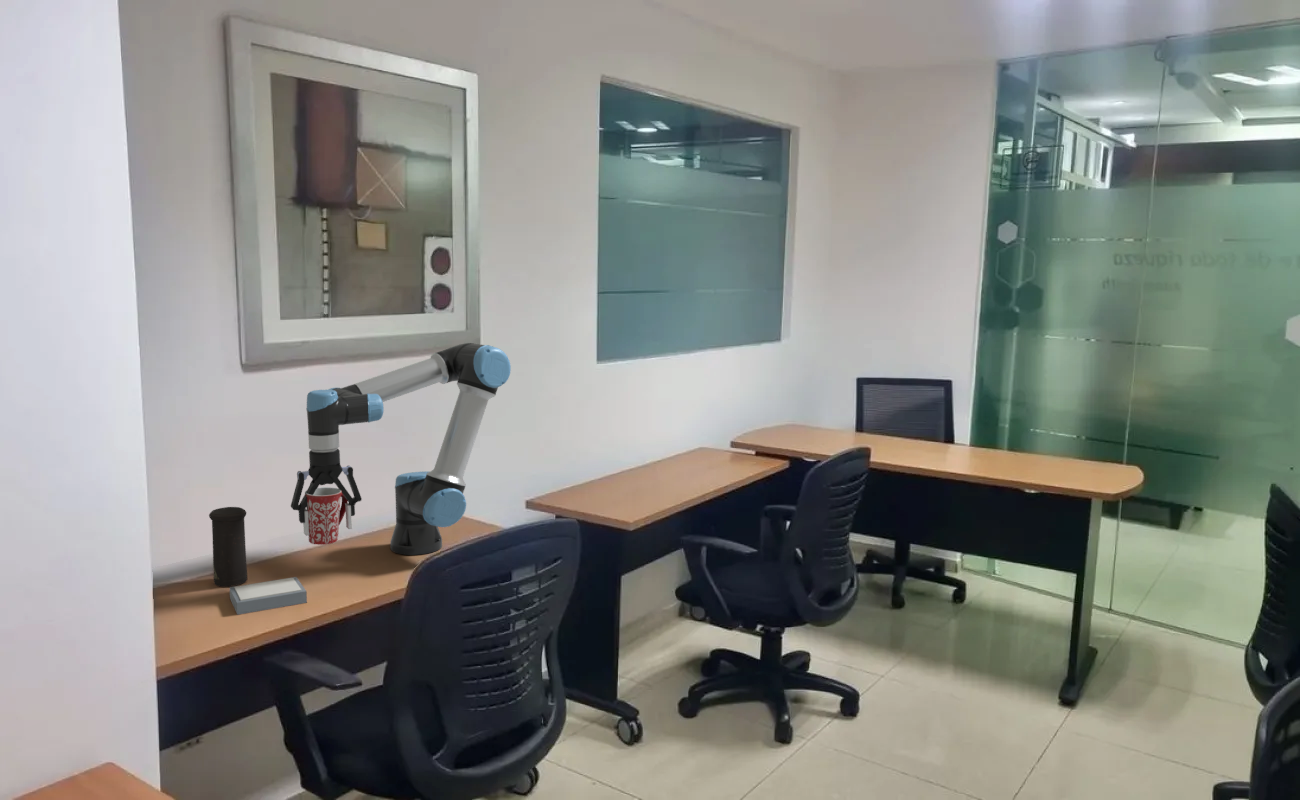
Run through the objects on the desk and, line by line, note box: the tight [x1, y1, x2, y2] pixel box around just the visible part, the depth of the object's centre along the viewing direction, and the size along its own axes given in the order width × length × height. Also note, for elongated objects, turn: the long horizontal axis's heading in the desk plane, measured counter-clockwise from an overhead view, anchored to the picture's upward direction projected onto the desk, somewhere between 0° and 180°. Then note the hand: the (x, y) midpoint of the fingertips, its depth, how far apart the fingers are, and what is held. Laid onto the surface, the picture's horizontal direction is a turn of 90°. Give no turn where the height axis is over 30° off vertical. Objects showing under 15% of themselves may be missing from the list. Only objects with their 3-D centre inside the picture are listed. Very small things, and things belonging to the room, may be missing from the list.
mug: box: [304, 486, 349, 546], centre depth 235 cm, size 13×9×14 cm
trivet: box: [229, 576, 308, 616], centre depth 223 cm, size 16×12×3 cm
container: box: [208, 506, 248, 588], centre depth 234 cm, size 9×9×20 cm
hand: (328, 531), depth 235 cm, fingers closed on mug, 10 cm apart
